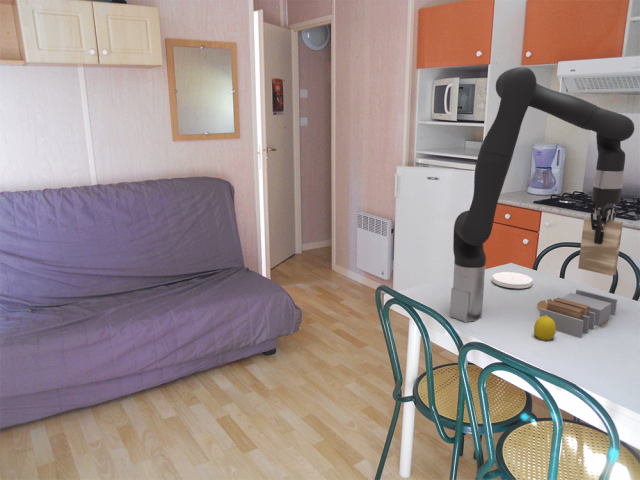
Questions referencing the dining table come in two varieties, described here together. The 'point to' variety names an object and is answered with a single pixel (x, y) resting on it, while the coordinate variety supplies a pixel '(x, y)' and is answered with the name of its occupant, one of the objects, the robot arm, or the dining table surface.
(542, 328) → the lemon
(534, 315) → the dining table surface
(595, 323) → the rack
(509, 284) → the plastic lid
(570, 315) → the offcut front
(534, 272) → the dining table surface
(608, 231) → the wooden block
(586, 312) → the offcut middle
